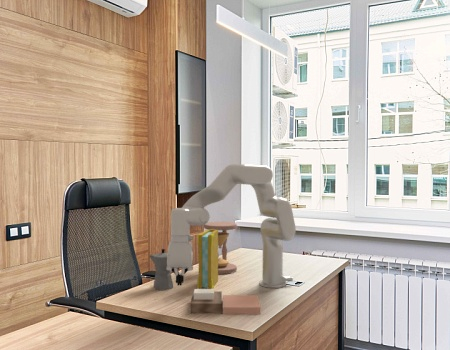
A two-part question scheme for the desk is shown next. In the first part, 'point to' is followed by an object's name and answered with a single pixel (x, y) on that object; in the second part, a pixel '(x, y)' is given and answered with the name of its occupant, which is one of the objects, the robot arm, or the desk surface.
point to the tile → (204, 294)
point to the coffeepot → (161, 272)
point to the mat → (241, 304)
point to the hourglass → (222, 239)
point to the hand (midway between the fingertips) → (179, 284)
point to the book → (208, 259)
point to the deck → (207, 305)
